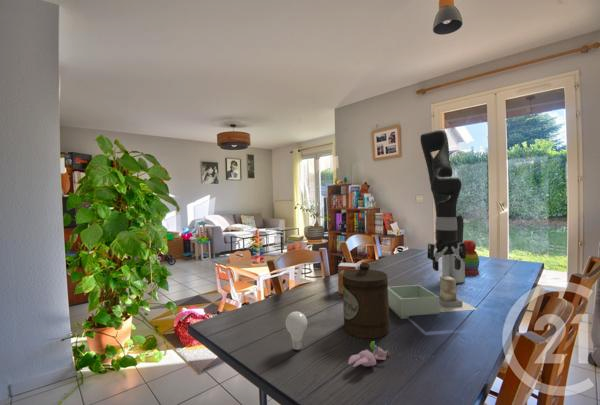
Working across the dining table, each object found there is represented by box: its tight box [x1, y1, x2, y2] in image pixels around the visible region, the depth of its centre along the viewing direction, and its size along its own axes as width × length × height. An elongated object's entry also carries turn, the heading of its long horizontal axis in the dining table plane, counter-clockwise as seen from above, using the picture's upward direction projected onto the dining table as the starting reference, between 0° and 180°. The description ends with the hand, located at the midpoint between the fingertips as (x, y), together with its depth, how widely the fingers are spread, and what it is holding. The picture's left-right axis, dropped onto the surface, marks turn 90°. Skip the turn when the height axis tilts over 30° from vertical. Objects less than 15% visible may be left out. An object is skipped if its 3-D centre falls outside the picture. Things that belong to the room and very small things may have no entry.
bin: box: [388, 284, 440, 320], centre depth 112 cm, size 14×14×7 cm
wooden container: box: [342, 261, 390, 339], centre depth 98 cm, size 15×15×22 cm
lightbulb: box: [285, 311, 308, 351], centre depth 86 cm, size 6×6×11 cm
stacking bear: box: [463, 239, 480, 276], centre depth 159 cm, size 11×10×18 cm
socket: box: [437, 295, 478, 313], centre depth 114 cm, size 14×14×3 cm
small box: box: [337, 262, 359, 295], centre depth 133 cm, size 8×6×13 cm
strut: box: [439, 276, 457, 301], centre depth 114 cm, size 4×4×10 cm
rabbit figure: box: [347, 340, 390, 368], centre depth 77 cm, size 6×6×15 cm
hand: (446, 270), depth 114 cm, fingers open, 8 cm apart
